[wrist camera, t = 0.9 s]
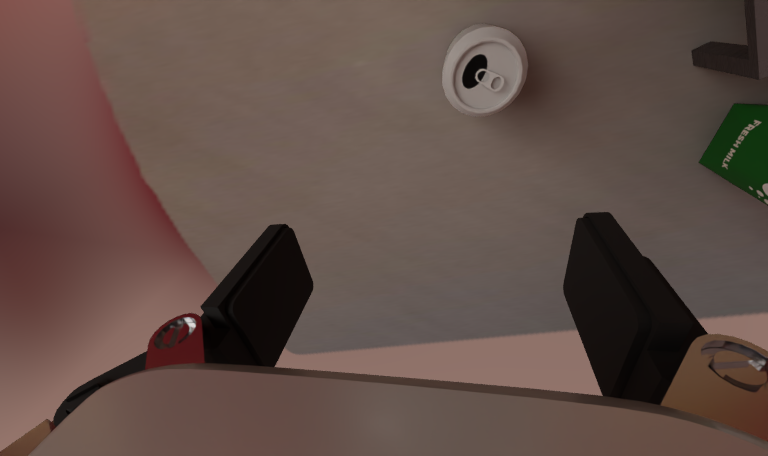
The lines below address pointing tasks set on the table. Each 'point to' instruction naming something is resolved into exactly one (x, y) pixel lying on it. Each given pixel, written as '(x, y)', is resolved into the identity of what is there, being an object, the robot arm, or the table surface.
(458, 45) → the can
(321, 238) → the table surface
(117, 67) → the table surface
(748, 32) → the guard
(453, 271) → the table surface
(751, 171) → the milk carton
